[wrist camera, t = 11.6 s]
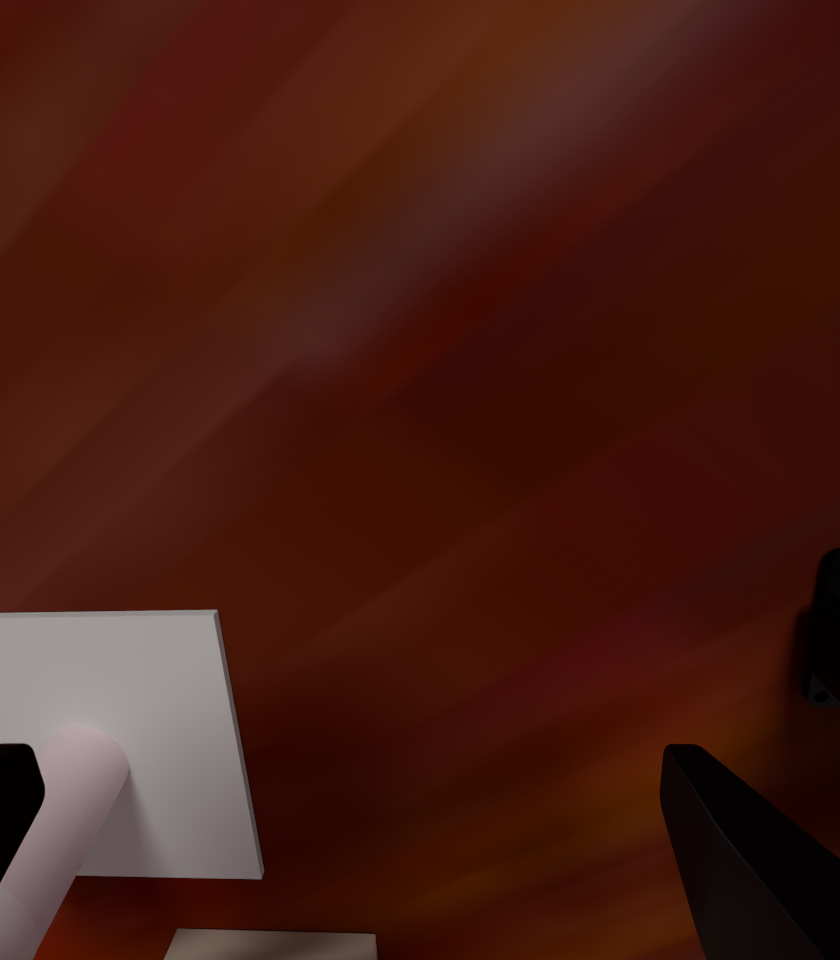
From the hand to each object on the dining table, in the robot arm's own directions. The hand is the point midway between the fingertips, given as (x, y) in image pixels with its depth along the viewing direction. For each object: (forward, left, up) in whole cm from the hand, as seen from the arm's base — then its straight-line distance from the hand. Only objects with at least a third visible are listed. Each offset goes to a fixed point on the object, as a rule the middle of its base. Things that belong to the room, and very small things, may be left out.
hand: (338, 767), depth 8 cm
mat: (+15, +12, -13) cm, 23 cm away
